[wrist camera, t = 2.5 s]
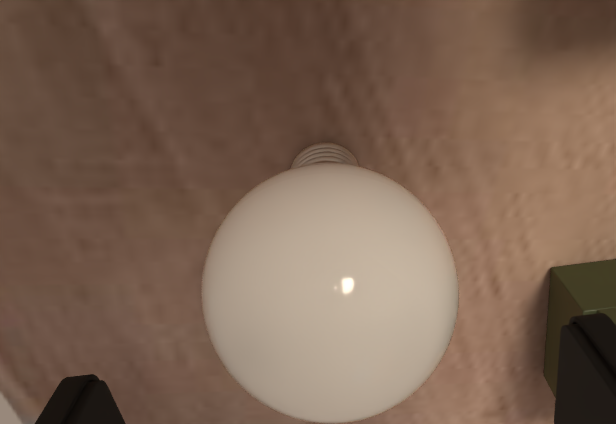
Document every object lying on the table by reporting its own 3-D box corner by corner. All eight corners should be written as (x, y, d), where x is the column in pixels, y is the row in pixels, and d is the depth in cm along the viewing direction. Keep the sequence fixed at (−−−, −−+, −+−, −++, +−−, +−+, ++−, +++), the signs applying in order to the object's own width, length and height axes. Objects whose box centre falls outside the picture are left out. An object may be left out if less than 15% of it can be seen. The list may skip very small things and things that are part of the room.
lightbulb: (437, 177, 20) (555, 400, 10) (315, 263, 22) (313, 518, 12) (336, 51, 17) (360, 178, 8) (211, 160, 19) (103, 369, 10)
